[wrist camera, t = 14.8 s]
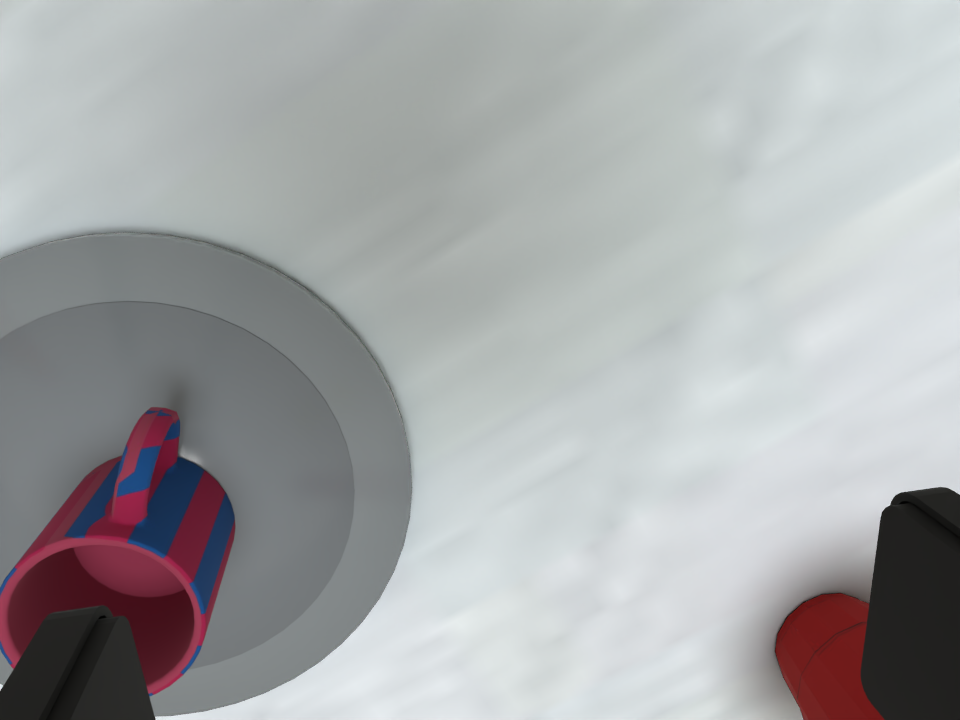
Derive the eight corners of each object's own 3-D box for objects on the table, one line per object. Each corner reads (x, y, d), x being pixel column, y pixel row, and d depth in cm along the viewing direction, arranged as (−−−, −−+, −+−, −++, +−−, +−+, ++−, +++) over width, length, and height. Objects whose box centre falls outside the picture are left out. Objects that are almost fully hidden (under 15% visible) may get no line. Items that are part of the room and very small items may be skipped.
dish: (-218, 270, 28) (-245, 277, 27) (372, 200, 31) (373, 204, 29) (-36, 739, 35) (-50, 762, 33) (437, 649, 37) (439, 667, 36)
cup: (48, 569, 32) (-31, 682, 25) (117, 355, 30) (50, 418, 23) (207, 610, 33) (171, 725, 27) (283, 410, 31) (264, 482, 25)
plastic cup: (877, 725, 44) (1062, 934, 32) (709, 714, 41) (842, 934, 30) (945, 560, 41) (1173, 725, 29) (768, 539, 39) (941, 708, 27)
